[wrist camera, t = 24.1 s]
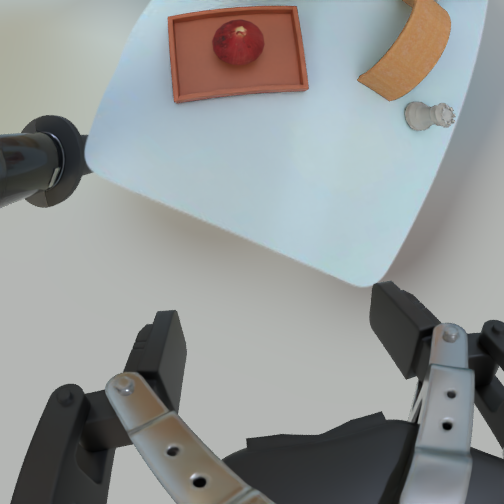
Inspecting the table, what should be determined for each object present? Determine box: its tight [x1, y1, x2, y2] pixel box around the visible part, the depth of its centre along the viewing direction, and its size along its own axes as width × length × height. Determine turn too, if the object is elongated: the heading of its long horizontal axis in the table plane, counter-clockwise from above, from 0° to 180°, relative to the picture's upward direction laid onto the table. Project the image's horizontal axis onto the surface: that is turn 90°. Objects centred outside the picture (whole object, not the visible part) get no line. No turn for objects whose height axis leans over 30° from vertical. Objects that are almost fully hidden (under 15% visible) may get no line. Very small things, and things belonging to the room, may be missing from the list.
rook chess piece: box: [405, 102, 456, 131], centre depth 31 cm, size 4×4×8 cm
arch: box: [357, 0, 451, 101], centre depth 26 cm, size 6×20×10 cm, turn 156°
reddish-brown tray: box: [168, 6, 309, 104], centre depth 30 cm, size 16×12×2 cm
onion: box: [212, 19, 265, 65], centre depth 27 cm, size 6×6×8 cm
